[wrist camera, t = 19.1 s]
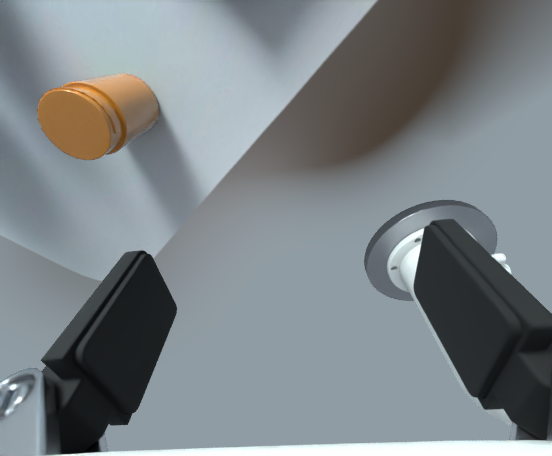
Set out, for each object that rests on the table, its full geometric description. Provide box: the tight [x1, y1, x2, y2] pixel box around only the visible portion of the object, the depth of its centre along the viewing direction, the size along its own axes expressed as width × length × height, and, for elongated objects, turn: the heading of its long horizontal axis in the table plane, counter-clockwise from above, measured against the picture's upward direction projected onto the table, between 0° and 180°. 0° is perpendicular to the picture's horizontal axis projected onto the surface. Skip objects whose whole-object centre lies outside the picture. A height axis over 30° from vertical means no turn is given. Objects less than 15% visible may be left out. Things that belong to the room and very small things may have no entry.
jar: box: [37, 73, 159, 160], centre depth 26 cm, size 6×6×10 cm
